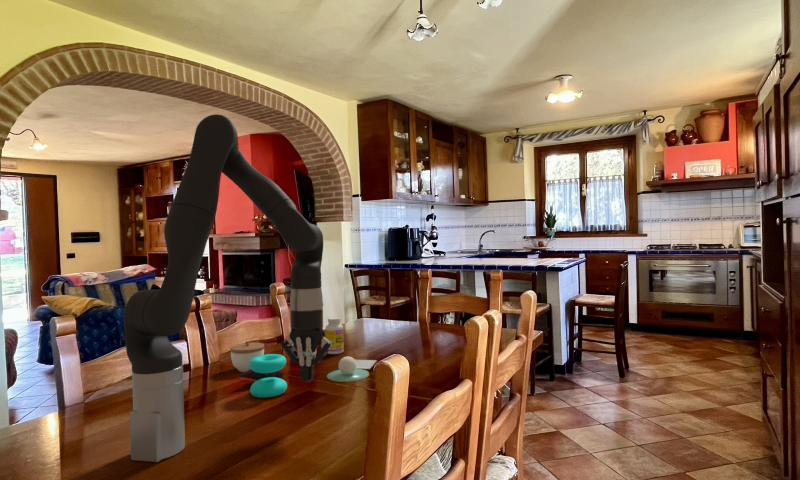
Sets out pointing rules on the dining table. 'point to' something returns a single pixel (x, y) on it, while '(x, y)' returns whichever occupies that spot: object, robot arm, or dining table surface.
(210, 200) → the robot arm
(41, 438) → the dining table surface
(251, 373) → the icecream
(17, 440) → the dining table surface
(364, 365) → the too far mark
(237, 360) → the lidded jar
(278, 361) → the donuts
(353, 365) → the ball
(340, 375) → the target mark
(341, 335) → the supplement bottle
